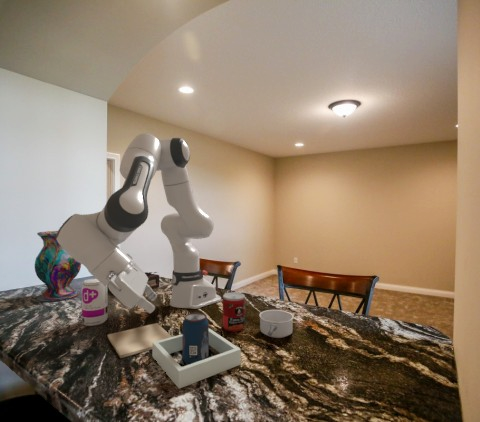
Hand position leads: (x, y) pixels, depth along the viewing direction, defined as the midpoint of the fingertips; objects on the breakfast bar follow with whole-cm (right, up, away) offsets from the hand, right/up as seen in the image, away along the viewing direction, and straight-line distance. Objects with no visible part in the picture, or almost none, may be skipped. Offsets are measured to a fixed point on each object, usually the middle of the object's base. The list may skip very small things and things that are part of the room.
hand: (154, 304), depth 75 cm
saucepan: (+33, -16, +17) cm, 41 cm away
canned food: (+20, -16, +25) cm, 36 cm away
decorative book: (-35, -16, +75) cm, 84 cm away
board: (-9, -16, +15) cm, 23 cm away
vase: (-62, -16, +59) cm, 87 cm away
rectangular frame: (+10, -16, +2) cm, 19 cm away
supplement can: (-30, -16, +29) cm, 45 cm away
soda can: (+10, -16, +2) cm, 19 cm away
